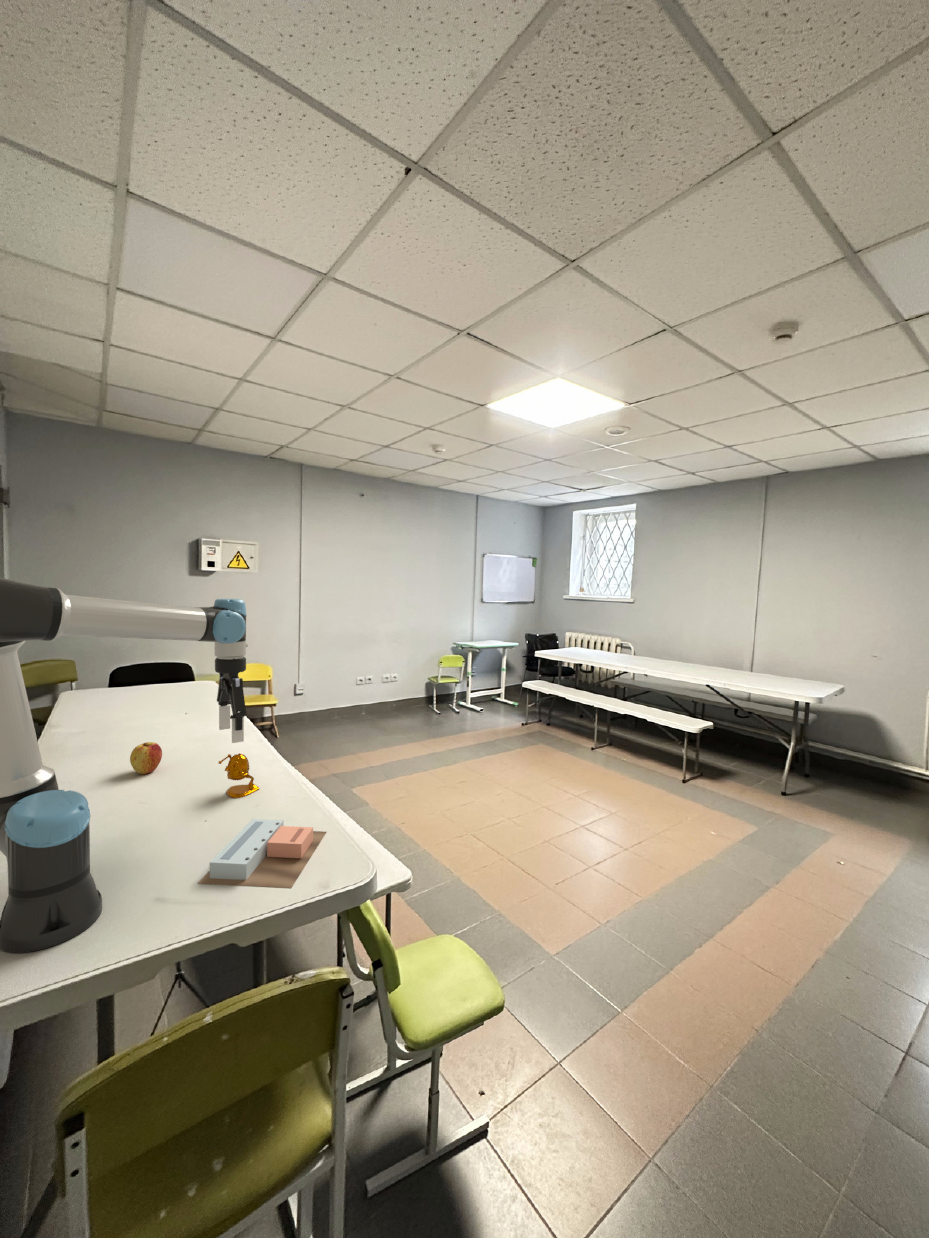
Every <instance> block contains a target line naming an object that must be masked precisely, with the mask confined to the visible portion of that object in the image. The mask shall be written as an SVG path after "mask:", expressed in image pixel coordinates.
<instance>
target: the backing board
mask: <svg viewBox="0 0 929 1238" xmlns="http://www.w3.org/2000/svg"><path fill="white" fill-rule="evenodd" d="M327 833H328V832H327V831H323V830H321V831H319V830H313V842H312V843H311V845H310V846H309V848H308V849H307V851H306V852H305V854H304V855H303V857H302V858H284V857H267V855H266V856H265V857H264V859H263V860H262V861H261V862H260V864H259V865H258V866H257V867H256V869H255V870H254V871H253V872H252V874H251V875H250V876H249V877H248V879H247V880H235V879H216V878H210V870H209V871H208V872H207V873H206V874H204V876H203V877H202V878H201V879H200V880H199V881H198V882H197V884H198V885H215V886H217V885H218V886H219V885H221V886H238V887H256V888H275V889H276V888H278V889H292V888H293V887H294V885H295V884H296V881H297V880H298V879H299V877H300V876H301V875H302V874H301V873H303V871H304V869H305V867H306V866H307V864H308V862H310V859H311V858H312V856H313V854H314V853H315V852H316V850H317V849H318V847H319V845H320V844H321V842H322V840H323V839H324V837H325V835H326V834H327Z"/></svg>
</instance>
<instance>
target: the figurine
mask: <svg viewBox="0 0 929 1238" xmlns="http://www.w3.org/2000/svg"><path fill="white" fill-rule="evenodd" d="M228 758H229V761H228V764H227V766H225V768H224V772H227V779H228V780H231V781H241V780H244V779H250V780H249V782H248V784H237V785H233V786H230V787H229V788H227V790H226V795H227V796H228V797H229V798H231V799H242V798H245V797H247V796H249V795H251V794H253V793H256V792H257V791H259V790H260V787H259V786H258V785H257V784H255V783H254V780H255V777H253V776H252V775H250V772H249V771H250V762H249V759H248V758H247V756H246V755H245V754H243V753H238V754H237V753H235V754H234V755H233V756H232V754H230V753H229V754H227V755H226V756H225V757H224V758H222V759H221V760H218V762H217V764H218V765H219V764H220V765H221V764H222V763H223V762H224V761H226V760H228Z"/></svg>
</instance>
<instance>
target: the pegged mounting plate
mask: <svg viewBox="0 0 929 1238" xmlns="http://www.w3.org/2000/svg"><path fill="white" fill-rule="evenodd" d="M284 823H285V821H284V820H283V819H267V818H266V819H264V818H263V819H262V818H252V819H250V821H249V822H248V823H247V824H245V826H244V827H242V829H241V830H240V831H239V832H238V833H237V834H236V835H235V836H234V837H233V838H232V839H231V840H230V841H229V842H228V843H227V844H226V845H225V846H224V847H223V848H222V849H221V850H220V851H219V852H218V853H217V855H215V856H214V857H213V858H212V860H211V861H209V871H210V878H216V879H235V880H247V879H248V877H249V876H250V875H251V874H252V872H253V871H254V870H255V869H256V867H257V866H258V865H259V864H260V862H261V861H262V860H263V859H264V857H265V856H266V855H267V842H268V841H269V840H270V839H271V837H272V836H273V835H274V834H275V833H276V832H277V830H278V829H279V828H280V827H281V826H285V825H284Z"/></svg>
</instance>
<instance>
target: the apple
mask: <svg viewBox="0 0 929 1238" xmlns="http://www.w3.org/2000/svg"><path fill="white" fill-rule="evenodd" d="M162 757H163V751H162V747H161V746H160V745H159V744H158V743H157V742H154V741H153V742H152V741H151V742H150V741H148V742H144V743H141V744H139V745H137V746H135V747H133V749H132V751H131V753H130V756H129V763H130V765H131V767H132V769H133V770H134V771H135V772H136V773H137V774H139V775H146V774H150V773H152V772H154V771H155V770H156V769H157V768H158V766H159V765H160V763H161V761H162Z"/></svg>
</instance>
